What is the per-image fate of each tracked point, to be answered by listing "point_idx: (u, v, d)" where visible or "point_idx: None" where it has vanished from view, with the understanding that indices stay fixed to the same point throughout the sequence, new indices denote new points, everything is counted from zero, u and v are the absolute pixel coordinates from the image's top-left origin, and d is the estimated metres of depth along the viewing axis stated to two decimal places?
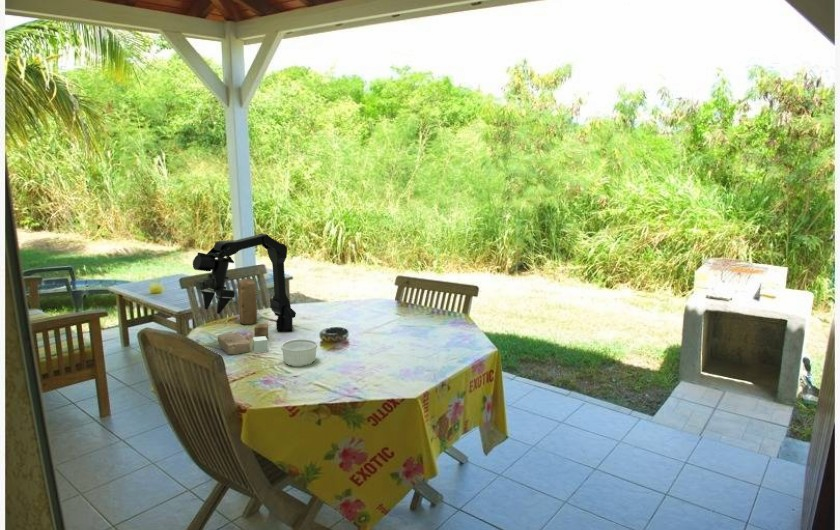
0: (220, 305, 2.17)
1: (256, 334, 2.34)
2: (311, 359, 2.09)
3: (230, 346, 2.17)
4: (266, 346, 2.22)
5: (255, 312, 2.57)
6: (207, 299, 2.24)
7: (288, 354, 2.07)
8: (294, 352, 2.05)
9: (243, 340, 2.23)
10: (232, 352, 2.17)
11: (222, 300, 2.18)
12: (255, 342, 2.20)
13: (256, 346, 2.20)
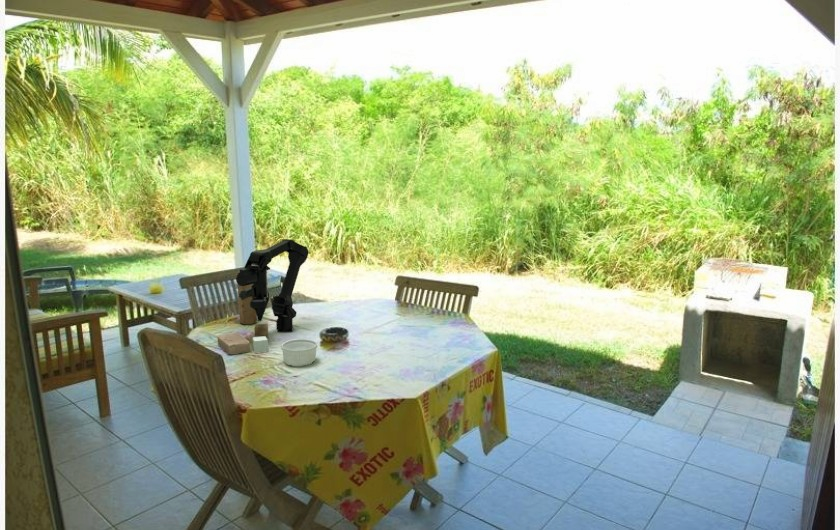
0: (258, 314, 2.29)
1: (256, 334, 2.34)
2: (311, 359, 2.09)
3: (230, 346, 2.17)
4: (266, 346, 2.22)
5: (255, 312, 2.57)
6: None
7: (288, 354, 2.07)
8: (294, 352, 2.05)
9: (243, 340, 2.23)
10: (232, 352, 2.17)
11: (259, 308, 2.29)
12: (255, 342, 2.20)
13: (256, 346, 2.20)
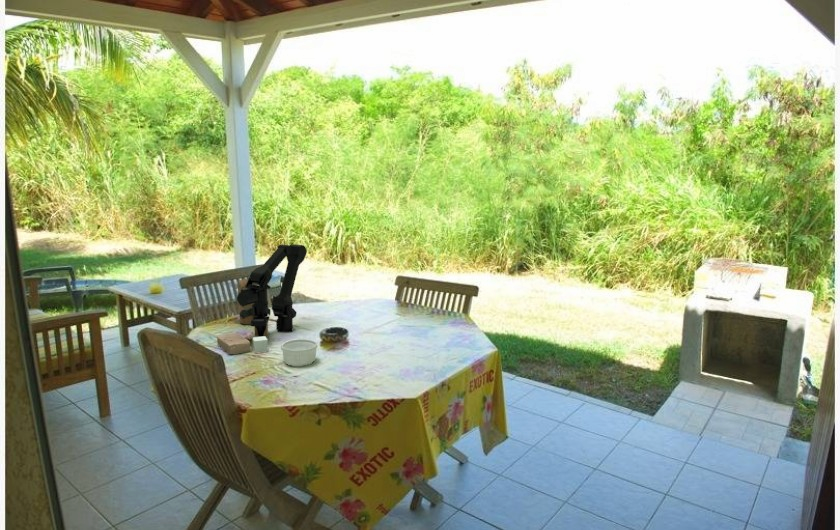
0: (259, 331, 2.33)
1: (256, 334, 2.34)
2: (311, 359, 2.09)
3: (231, 346, 2.17)
4: (266, 346, 2.22)
5: None
6: None
7: (288, 354, 2.07)
8: (294, 352, 2.05)
9: (243, 340, 2.23)
10: (232, 352, 2.17)
11: (260, 326, 2.32)
12: (255, 342, 2.20)
13: (256, 346, 2.20)
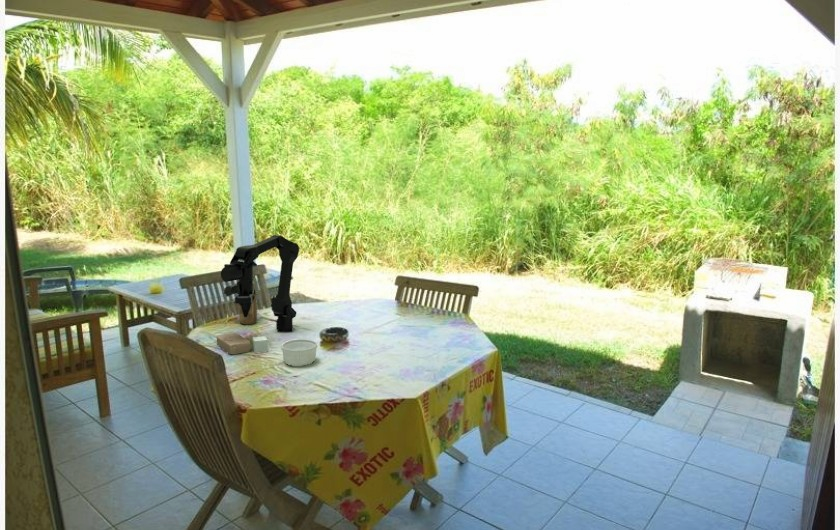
0: (243, 309, 2.25)
1: (241, 312, 2.26)
2: (311, 359, 2.09)
3: (231, 346, 2.17)
4: (266, 346, 2.22)
5: (255, 312, 2.57)
6: None
7: (288, 354, 2.07)
8: (294, 352, 2.05)
9: (244, 340, 2.23)
10: (233, 352, 2.17)
11: (245, 304, 2.24)
12: (255, 342, 2.20)
13: (256, 346, 2.20)
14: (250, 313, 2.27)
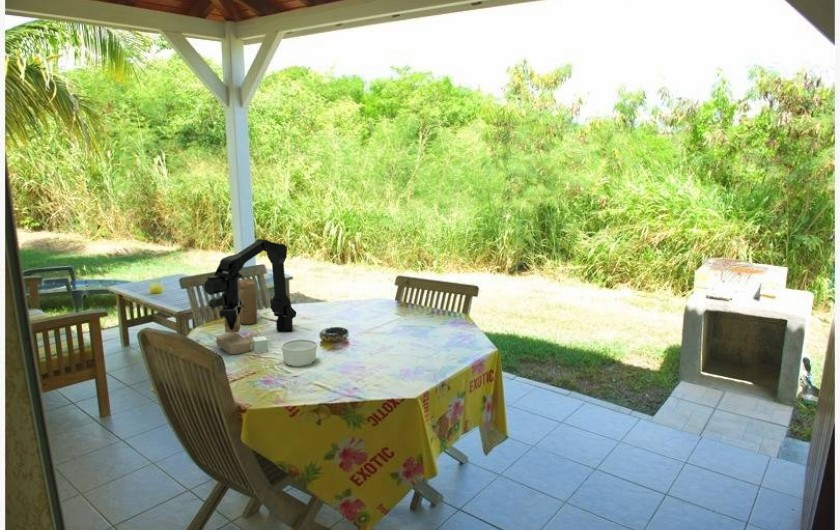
0: (229, 322, 2.20)
1: (226, 325, 2.21)
2: (311, 359, 2.09)
3: (232, 346, 2.17)
4: (266, 346, 2.22)
5: (255, 312, 2.57)
6: None
7: (288, 354, 2.07)
8: (294, 352, 2.05)
9: (244, 340, 2.23)
10: (233, 352, 2.18)
11: (230, 317, 2.20)
12: (255, 342, 2.20)
13: (256, 346, 2.20)
14: (236, 325, 2.22)
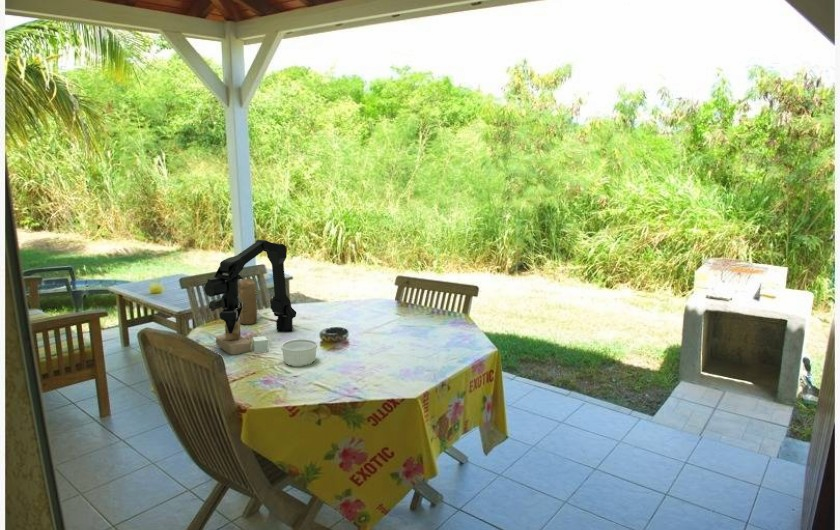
0: (228, 325, 2.18)
1: (227, 332, 2.22)
2: (311, 359, 2.09)
3: (232, 346, 2.17)
4: (266, 346, 2.22)
5: (255, 312, 2.57)
6: None
7: (288, 354, 2.07)
8: (294, 352, 2.05)
9: (244, 340, 2.23)
10: (234, 352, 2.18)
11: (229, 320, 2.18)
12: (255, 342, 2.20)
13: (256, 346, 2.20)
14: (236, 333, 2.22)
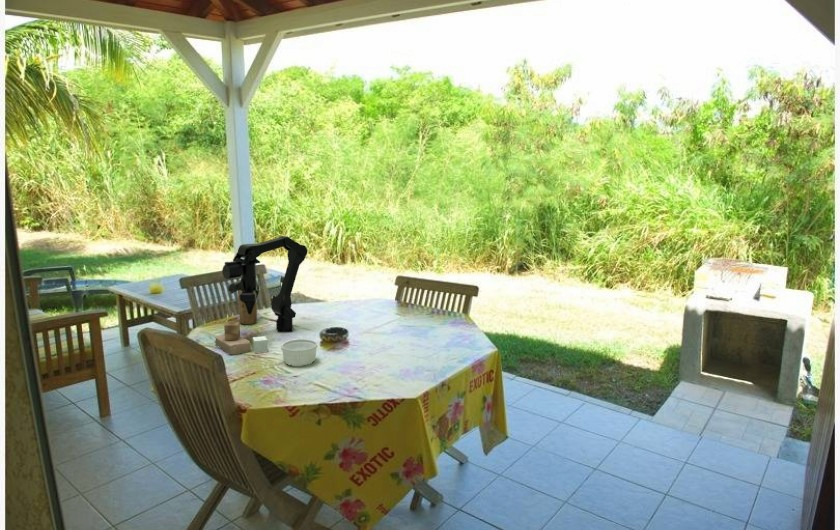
0: (247, 307, 2.29)
1: (226, 332, 2.22)
2: (311, 359, 2.09)
3: (232, 346, 2.17)
4: (266, 346, 2.22)
5: (255, 312, 2.57)
6: None
7: (288, 354, 2.07)
8: (294, 352, 2.05)
9: (243, 340, 2.23)
10: (233, 352, 2.17)
11: (248, 302, 2.29)
12: (255, 342, 2.20)
13: (256, 346, 2.20)
14: (236, 333, 2.22)
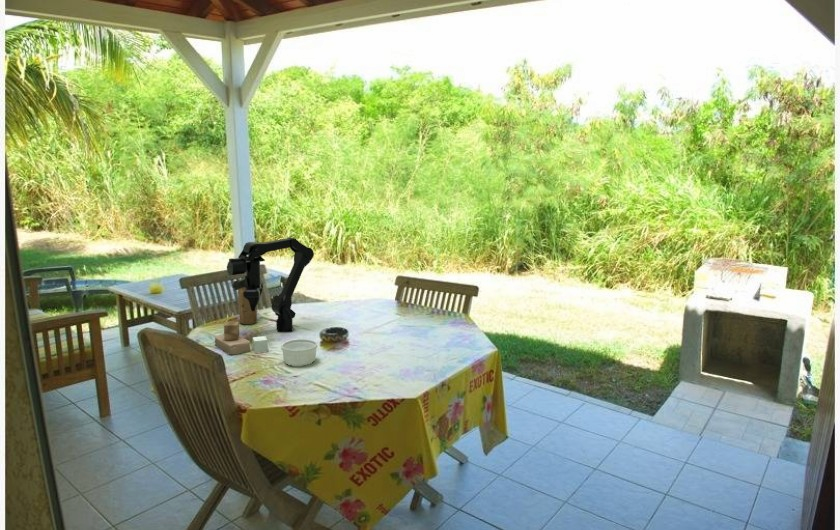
0: (251, 304, 2.32)
1: (226, 332, 2.22)
2: (311, 359, 2.09)
3: (231, 346, 2.17)
4: (266, 346, 2.22)
5: (255, 312, 2.57)
6: None
7: (288, 354, 2.07)
8: (294, 352, 2.05)
9: (243, 340, 2.23)
10: (233, 352, 2.17)
11: (252, 299, 2.31)
12: (255, 342, 2.20)
13: (256, 346, 2.20)
14: (235, 333, 2.22)
